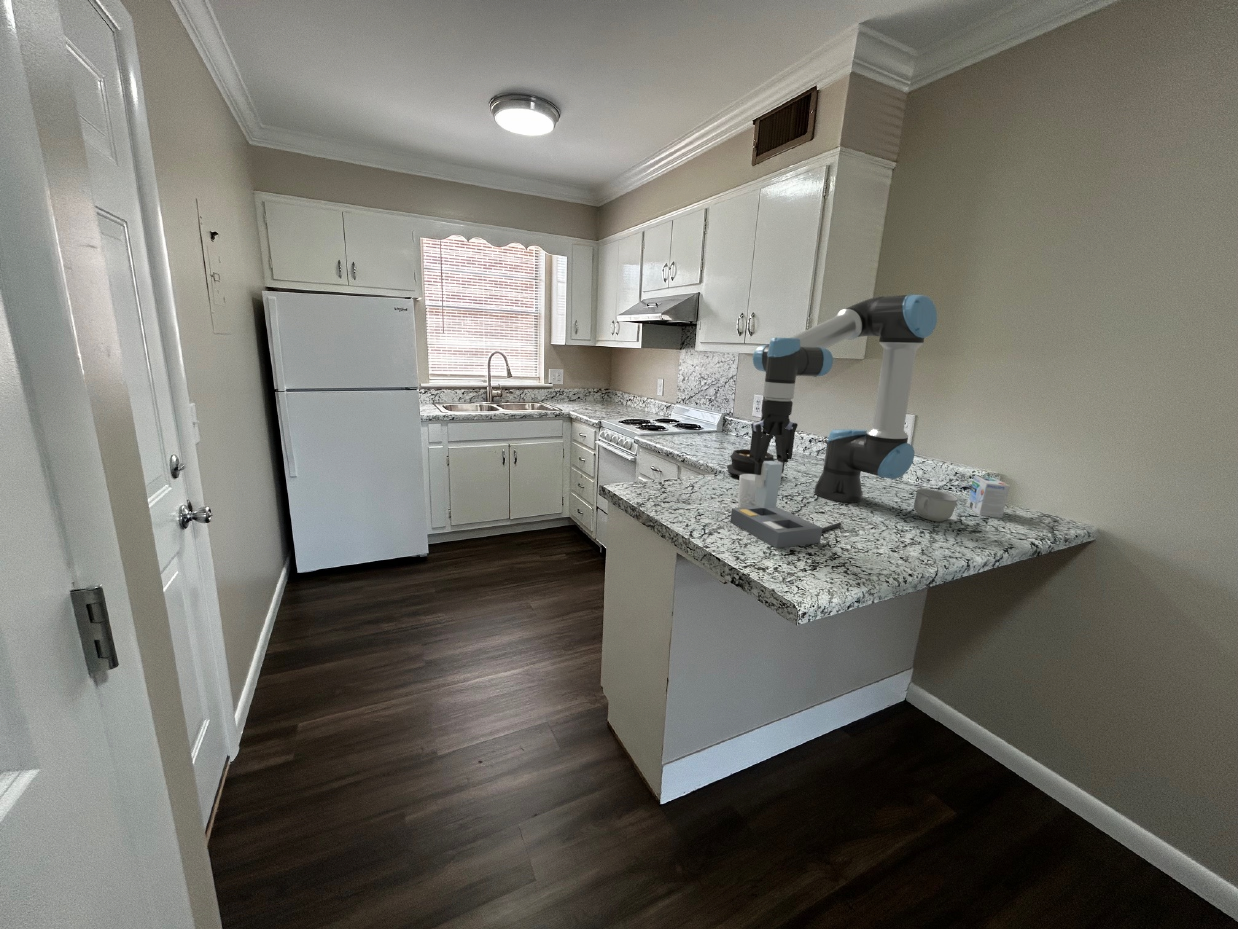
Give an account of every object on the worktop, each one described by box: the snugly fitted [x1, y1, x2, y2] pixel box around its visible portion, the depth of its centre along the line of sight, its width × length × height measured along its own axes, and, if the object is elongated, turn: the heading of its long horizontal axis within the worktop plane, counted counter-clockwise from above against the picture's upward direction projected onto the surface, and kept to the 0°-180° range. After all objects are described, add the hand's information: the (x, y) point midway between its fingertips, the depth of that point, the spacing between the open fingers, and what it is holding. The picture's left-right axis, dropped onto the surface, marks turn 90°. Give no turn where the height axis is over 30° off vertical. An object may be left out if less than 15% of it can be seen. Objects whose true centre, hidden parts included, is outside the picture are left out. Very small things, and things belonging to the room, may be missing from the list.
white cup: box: [737, 474, 758, 508], centre depth 152 cm, size 8×8×10 cm
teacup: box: [913, 488, 959, 522], centre depth 154 cm, size 14×11×8 cm
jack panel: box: [729, 506, 823, 549], centre depth 135 cm, size 14×19×4 cm
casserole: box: [726, 448, 775, 477], centre depth 197 cm, size 25×19×8 cm
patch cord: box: [822, 521, 842, 533], centre depth 138 cm, size 16×1×1 cm, turn 128°
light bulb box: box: [966, 475, 1011, 519], centre depth 165 cm, size 11×7×11 cm, turn 165°
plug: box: [754, 461, 782, 508], centre depth 137 cm, size 5×4×12 cm
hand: (767, 485), depth 137 cm, fingers closed on plug, 5 cm apart
